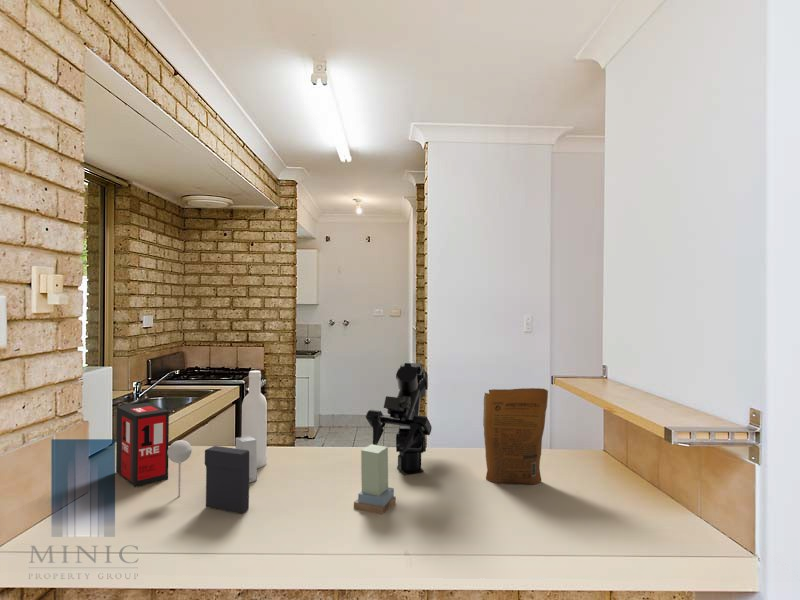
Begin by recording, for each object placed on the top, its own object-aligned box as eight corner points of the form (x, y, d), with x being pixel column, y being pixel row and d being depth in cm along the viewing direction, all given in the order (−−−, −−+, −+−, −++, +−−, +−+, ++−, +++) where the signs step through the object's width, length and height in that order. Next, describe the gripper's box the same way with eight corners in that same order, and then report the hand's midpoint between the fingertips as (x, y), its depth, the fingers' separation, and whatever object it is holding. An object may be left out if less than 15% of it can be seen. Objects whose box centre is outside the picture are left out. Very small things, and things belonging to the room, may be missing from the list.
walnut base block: (368, 499, 133) (368, 491, 133) (395, 504, 130) (395, 496, 130) (353, 510, 126) (353, 502, 126) (381, 516, 122) (381, 508, 122)
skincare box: (257, 480, 144) (258, 439, 144) (242, 484, 141) (243, 441, 141) (249, 474, 149) (249, 434, 149) (234, 478, 146) (235, 437, 146)
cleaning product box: (116, 472, 149) (116, 406, 149) (147, 465, 156) (147, 402, 156) (135, 487, 138) (136, 416, 138) (168, 479, 144) (168, 411, 144)
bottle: (271, 462, 160) (272, 370, 160) (258, 470, 153) (259, 373, 153) (249, 459, 162) (250, 369, 162) (235, 467, 155) (236, 372, 155)
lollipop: (196, 494, 133) (197, 439, 133) (178, 502, 128) (179, 444, 128) (180, 490, 136) (180, 436, 136) (161, 498, 130) (162, 441, 130)
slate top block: (369, 492, 132) (369, 484, 132) (393, 496, 130) (393, 488, 130) (358, 502, 126) (358, 493, 126) (383, 506, 123) (383, 498, 123)
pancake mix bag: (549, 487, 141) (551, 390, 141) (483, 485, 142) (484, 388, 142) (544, 479, 148) (545, 386, 148) (480, 476, 149) (481, 384, 149)
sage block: (371, 484, 131) (371, 444, 131) (388, 488, 129) (387, 447, 128) (361, 492, 127) (361, 450, 126) (378, 496, 124) (378, 453, 124)
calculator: (250, 508, 125) (251, 449, 125) (240, 515, 121) (240, 454, 121) (215, 502, 128) (216, 444, 128) (203, 508, 124) (204, 449, 124)
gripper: (368, 382, 143) (348, 428, 134) (428, 387, 136) (411, 437, 126) (381, 403, 151) (362, 449, 141) (438, 410, 143) (423, 459, 133)
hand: (388, 448), depth 135 cm, fingers open, 9 cm apart
